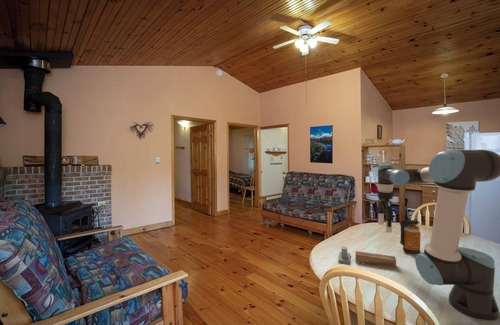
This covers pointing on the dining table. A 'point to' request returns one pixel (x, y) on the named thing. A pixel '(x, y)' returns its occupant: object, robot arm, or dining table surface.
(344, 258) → the fulcrum
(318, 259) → the dining table surface
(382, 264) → the walnut bar
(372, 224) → the dining table surface
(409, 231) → the canister
